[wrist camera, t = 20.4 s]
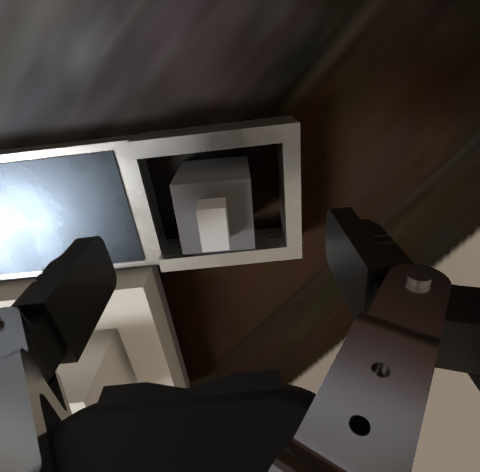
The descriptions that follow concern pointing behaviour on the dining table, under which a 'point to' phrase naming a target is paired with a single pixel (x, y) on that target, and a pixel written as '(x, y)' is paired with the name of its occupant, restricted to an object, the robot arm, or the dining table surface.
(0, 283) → the power strip
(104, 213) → the white two-window frame
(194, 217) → the cable plug
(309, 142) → the dining table surface
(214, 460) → the robot arm
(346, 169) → the dining table surface
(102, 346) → the block
